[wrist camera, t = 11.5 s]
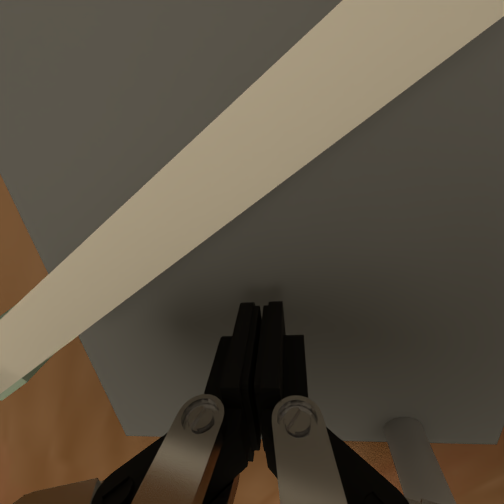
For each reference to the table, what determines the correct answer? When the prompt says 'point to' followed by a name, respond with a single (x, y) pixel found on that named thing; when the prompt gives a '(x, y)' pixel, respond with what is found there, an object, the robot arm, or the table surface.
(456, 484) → the table surface
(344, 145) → the gate base
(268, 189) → the bar
